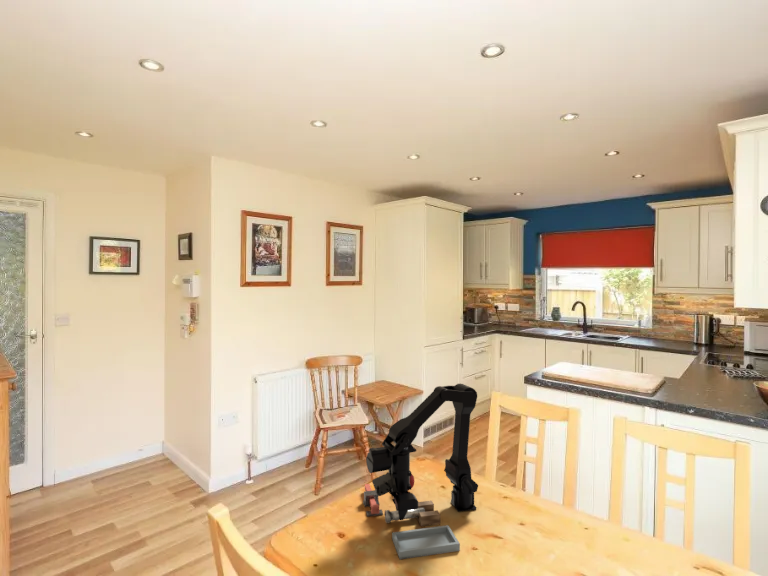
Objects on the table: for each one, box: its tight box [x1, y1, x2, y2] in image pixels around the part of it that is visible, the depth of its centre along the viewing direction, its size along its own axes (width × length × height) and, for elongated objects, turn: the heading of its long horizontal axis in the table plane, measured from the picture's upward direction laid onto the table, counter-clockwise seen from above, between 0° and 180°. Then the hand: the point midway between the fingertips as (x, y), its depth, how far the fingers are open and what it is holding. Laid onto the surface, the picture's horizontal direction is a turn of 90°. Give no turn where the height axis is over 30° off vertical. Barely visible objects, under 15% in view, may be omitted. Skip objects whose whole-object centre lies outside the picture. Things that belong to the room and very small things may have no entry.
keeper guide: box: [362, 489, 384, 517], centre depth 131 cm, size 5×8×4 cm, turn 12°
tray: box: [391, 524, 461, 560], centre depth 113 cm, size 17×9×2 cm, turn 102°
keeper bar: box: [364, 483, 380, 514], centre depth 134 cm, size 2×16×2 cm, turn 12°
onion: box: [408, 473, 415, 492], centre depth 142 cm, size 6×6×8 cm
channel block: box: [416, 500, 441, 527], centre depth 126 cm, size 6×8×3 cm
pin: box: [384, 508, 425, 524], centre depth 125 cm, size 12×3×3 cm, turn 102°
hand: (400, 517), depth 124 cm, fingers closed on pin, 2 cm apart
